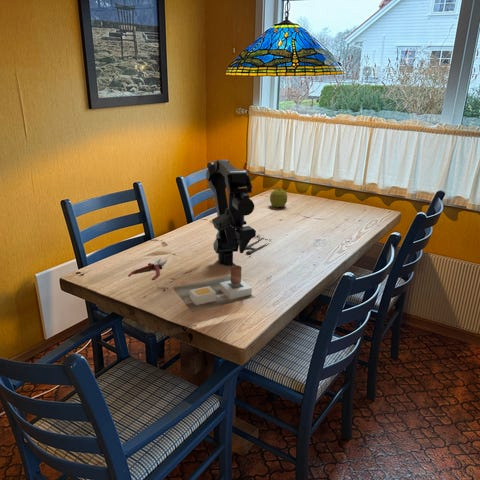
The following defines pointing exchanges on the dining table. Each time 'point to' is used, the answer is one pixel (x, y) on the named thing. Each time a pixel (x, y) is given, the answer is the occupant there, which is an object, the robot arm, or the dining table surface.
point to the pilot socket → (235, 293)
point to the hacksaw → (254, 248)
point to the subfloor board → (215, 285)
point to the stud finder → (202, 295)
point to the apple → (278, 198)
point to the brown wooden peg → (235, 276)
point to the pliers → (150, 268)
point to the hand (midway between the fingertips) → (235, 248)
